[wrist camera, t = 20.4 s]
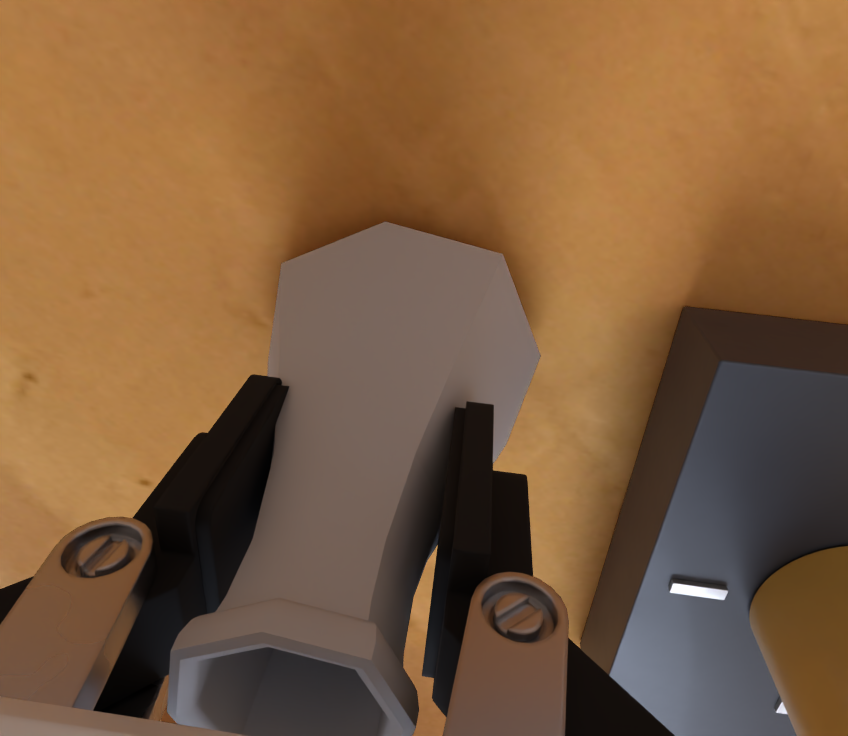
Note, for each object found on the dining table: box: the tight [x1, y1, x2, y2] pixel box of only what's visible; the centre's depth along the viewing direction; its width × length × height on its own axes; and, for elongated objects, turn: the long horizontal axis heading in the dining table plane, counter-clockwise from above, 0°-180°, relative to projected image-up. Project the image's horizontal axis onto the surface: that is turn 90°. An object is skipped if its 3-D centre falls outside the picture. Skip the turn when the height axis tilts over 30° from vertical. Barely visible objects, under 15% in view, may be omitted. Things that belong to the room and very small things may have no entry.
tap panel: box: [580, 307, 848, 736], centre depth 17 cm, size 13×10×3 cm
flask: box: [167, 222, 541, 736], centre depth 12 cm, size 7×7×10 cm
